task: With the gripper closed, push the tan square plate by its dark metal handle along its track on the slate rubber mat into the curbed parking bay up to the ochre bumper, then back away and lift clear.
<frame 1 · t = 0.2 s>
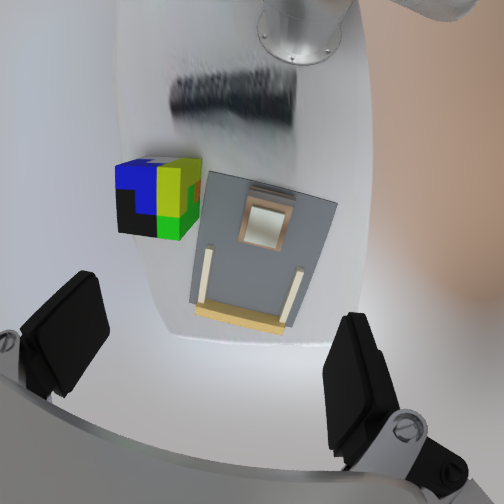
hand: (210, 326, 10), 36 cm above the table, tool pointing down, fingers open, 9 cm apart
puzzle toy: (172, 186, 44), on the table
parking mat: (255, 257, 48), on the table
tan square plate: (265, 219, 43), point 2 cm above the table, slide at 0.0 cm
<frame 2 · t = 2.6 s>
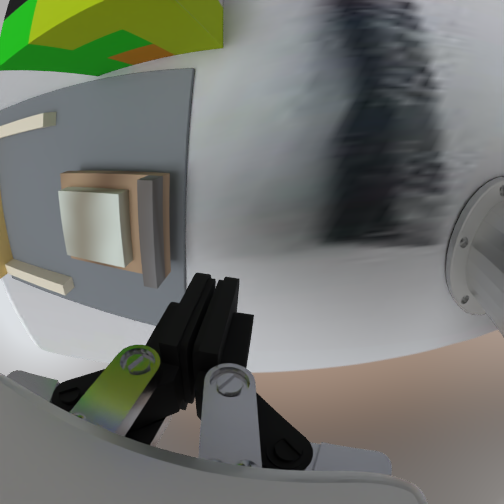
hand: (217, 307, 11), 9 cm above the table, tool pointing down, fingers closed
puzzle toy: (157, 5, 13), on the table
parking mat: (58, 204, 20), on the table
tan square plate: (110, 221, 18), point 2 cm above the table, slide at 0.0 cm
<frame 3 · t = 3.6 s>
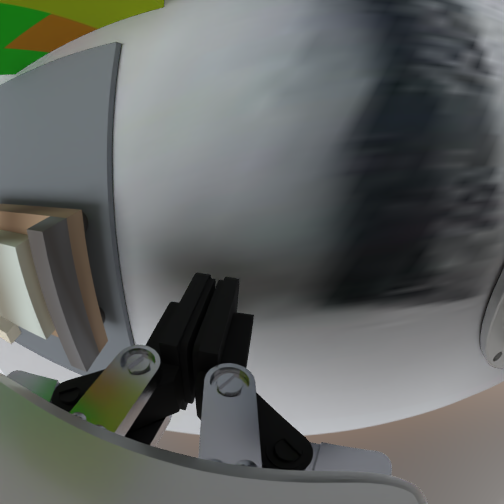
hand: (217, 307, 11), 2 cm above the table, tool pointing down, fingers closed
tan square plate: (26, 273, 11), point 2 cm above the table, slide at 0.0 cm
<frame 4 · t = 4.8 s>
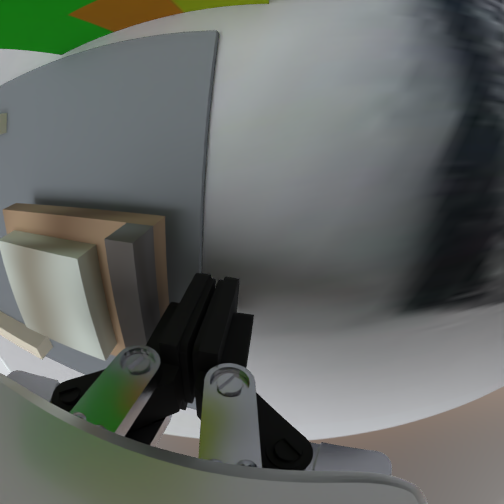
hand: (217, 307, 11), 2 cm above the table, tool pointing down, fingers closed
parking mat: (19, 244, 13), on the table
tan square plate: (76, 286, 10), point 2 cm above the table, slide at 0.4 cm, touching gripper
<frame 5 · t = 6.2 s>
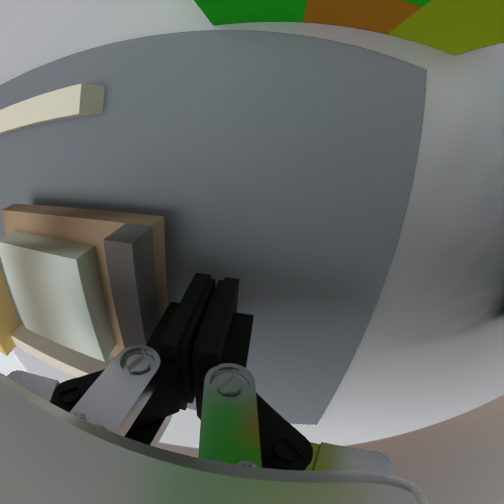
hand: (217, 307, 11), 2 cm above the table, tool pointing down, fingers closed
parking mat: (106, 264, 13), on the table
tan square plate: (75, 286, 10), point 2 cm above the table, slide at 8.4 cm, touching gripper
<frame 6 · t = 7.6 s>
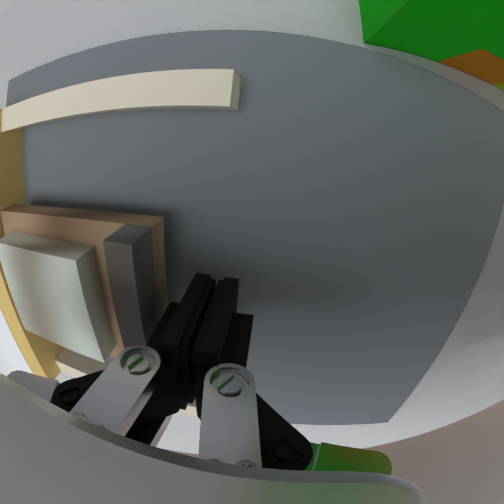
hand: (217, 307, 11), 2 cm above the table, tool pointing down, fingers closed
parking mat: (214, 284, 12), on the table
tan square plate: (74, 287, 10), point 2 cm above the table, slide at 14.1 cm, touching gripper
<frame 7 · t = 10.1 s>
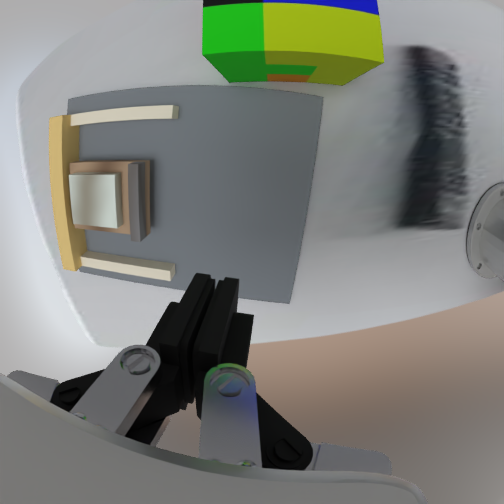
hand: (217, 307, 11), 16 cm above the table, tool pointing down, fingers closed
puzzle toy: (285, 34, 19), on the table
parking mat: (170, 194, 26), on the table
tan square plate: (106, 196, 24), point 2 cm above the table, slide at 14.0 cm
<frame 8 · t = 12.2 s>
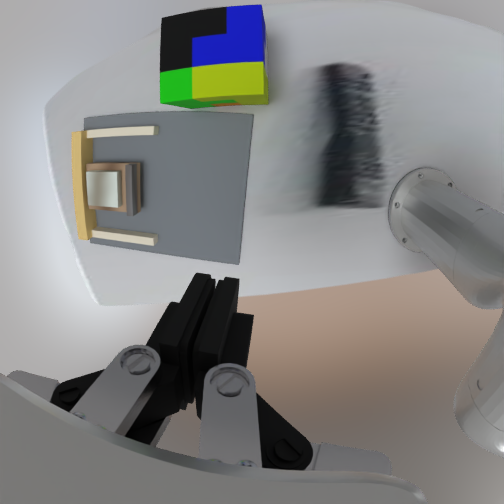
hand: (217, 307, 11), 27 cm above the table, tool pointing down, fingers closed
puzzle toy: (228, 70, 29), on the table
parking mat: (154, 185, 37), on the table
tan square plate: (111, 186, 35), point 2 cm above the table, slide at 14.0 cm
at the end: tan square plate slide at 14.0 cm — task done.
